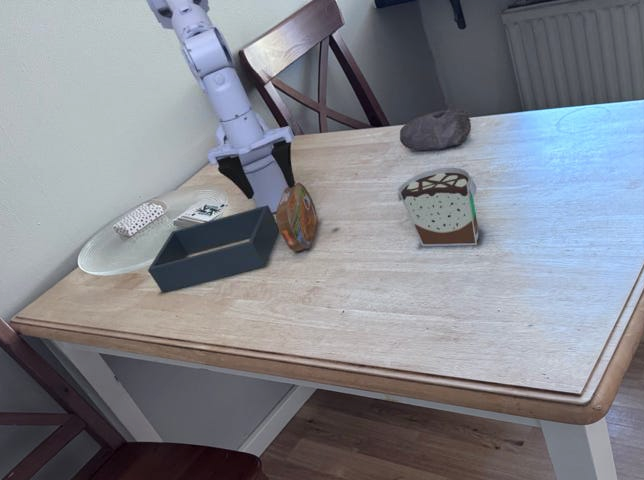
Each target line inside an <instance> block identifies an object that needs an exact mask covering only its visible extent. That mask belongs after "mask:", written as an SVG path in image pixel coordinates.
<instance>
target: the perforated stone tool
mask: <svg viewBox="0 0 644 480" xmlns="http://www.w3.org/2000/svg"><path fill="white" fill-rule="evenodd" d="M471 129H472V124H471V119H470V117H469V113H468V110H466V109H464V108H462V107H461V108H453V109H451V108H450V109H444V110H439V111H434V112H430V113H427V114H424V115H421V116H418V117H416V118H414V119H411V120H410V121H408V122H407V123H405V124H404V125H403V126H402V127H401V128H400V130H399V141H400V143H401V144H402V145H403V146H404V147H405V148H407V149H409V150H412V151H415V152H417V151H418V152H419V151H420V152H421V151H425V150H427V151H438V150H439V151H440V150H445V149H446V148H449V147H450V146H454V147H457V146H460V145H461V144H462V143H463V142H464V141H466V140H467V139H468V137H469V135H470V134H471Z"/></svg>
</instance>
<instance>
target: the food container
mask: <svg viewBox="0 0 644 480" xmlns="http://www.w3.org/2000/svg"><path fill="white" fill-rule="evenodd" d="M397 191H398V192H397V199H398V202H399V203H400V202H401V201H402V203H403V206H404V208H405V210H406V213H407V215H408V217H409V219H410V222H411V223H412V226H413V228H414V231H415V233H416V235H417V238H418V240H419V243H420V244H421V246H422V247H443V246H445V247H447V246H477V245H478V244H479V242H480V234H479V227H478V226H479V225H478V220H477V214H476V207H475V200H474V197H476V194H477V186H476V184H475V182H474V180H473V177H472V176H471V175H470V174H469V172H468V171H467V170H465V169H463V168H461V167H453V166H447V167H439V168H435V169H430V170H427V171H425V172H422V173H419V174H417V175H415V176H412V177H411V178H409V179H407V180H406V181H405V182H403V183H402V184H401V185H400V186H399V187H398V188H397Z"/></svg>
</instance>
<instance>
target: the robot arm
mask: <svg viewBox="0 0 644 480" xmlns="http://www.w3.org/2000/svg"><path fill="white" fill-rule="evenodd" d="M145 1H146V3H147V5H148V7H149V9H150V10H151V12H152V13H153V15H154V17H155V19H156V20H157V23H159V24H161V25H160V26H161V27H162V29H166V30H173V31H174V33H175V35H176V37H177V39H178V41H179V43H180V46H179V49H180V52H181V54H182V56H183V59H184V60H185V62H186V64H187V66H188V68H189V70H190V72H191V75H192V76H193V77H194V79H195V80H196V81H197V84H198V85H199V86H200V88H201V90H202V92H203V94H205V97H206V98H207V101H208V103H209V104H210V107H211V108H212V110H213V113H214V115H215V117H216V119H217V121H218V125H217V127H216V130H215V139H216V140H217V143H218V146H216V147H214V148H211V149H209V150H208V151H207V152H206V157H207V158H208V160H209V162H210V164H211V166H214V165H217V164H218V167H217V170H218V172H219V174H221V175H223V176H224V177H226V178H227V179H229V180H230V181H231V182H232V183H233V184H234V185H235V186H236V187H237V188H238V189H239V190H240V191H241V192H242V193H243V195H244V196H245V198H246V199H247V200H252V199H253V201H254V204H255V205H256V208H259V207H263V206H267V205H268V206H269V208H270V210H271V212H272V214H273V213H276V211H277V208H278V205H279V203H280V200H281V197H282V195H283V192H284V190H285V189H286V188H287V187H289V188H292V187H294V185H295V184H296V181H295V176H294V173H293V166H292V165H293V164H292V142H293V141H294V139H295V134H294V133H293V130H292V128H291V125H287V126H283V127H278V128H272V129H270V128H269V127H268V125H267V124H266V122H265V119H264V118H263V116H262V115H261V114H259V113H258V112H255V111H254V108H253V106H252V104H251V102H250V99H249V97H248V94H247V93H246V89H245V88H244V86H243V84H242V82H241V79H240V77H239V75H238V72H237V71H236V68H235V66H236V65H235V59H234V57H233V54H232V52H231V49H230V47H229V45H228V43H227V40H226V38H225V37H224V35H223V33H222V32H221V30H220V28H218V27H217V25H215V24H213V23H212V21H211V18H210V17H209V15H208V12H209V11H210V10H211V9H210V5H209V0H145ZM230 63H231V64H232V65H233V66H232V65H231V64H230Z"/></svg>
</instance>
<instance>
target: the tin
mask: <svg viewBox="0 0 644 480" xmlns="http://www.w3.org/2000/svg"><path fill="white" fill-rule="evenodd" d="M313 201H314V200H313V199H312V196H311V195H310V193H309V191H308V190H307V188H306V187H305V186H304V184H303V183H300V182H297V183H296V182H295V184H294V187H292V188H289V187H287V188H286V189H285V190H284V192H283V195H282V197H281V200H280V203H279V205H278V208H277V211H276V212H275V220H276V222H277V225H278V228H279V231H278V232H279V233H280V234H281V236H282V237H283V240H284V241H285V244H286V245H287V247H288V248H289V249H290V250H291V251H292V252H300V251H303V250H307V249H310V248H311V247H312V245H313V242H314V241H313V240H314V238H315V233H316V230H317V227H318V214H317V209H316V207H315V204H314V202H313Z"/></svg>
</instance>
